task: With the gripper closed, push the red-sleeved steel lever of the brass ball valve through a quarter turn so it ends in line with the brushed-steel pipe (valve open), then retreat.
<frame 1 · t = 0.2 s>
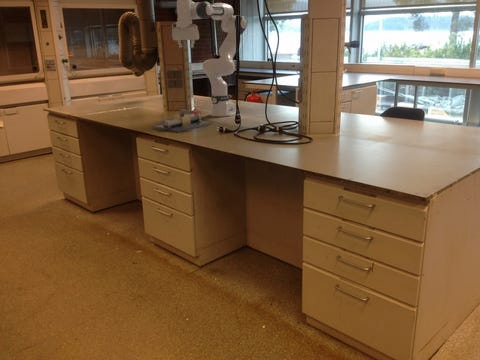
hand: (186, 47, 284), 47 cm above the countertop, fingers open, 8 cm apart
lever: (189, 113, 276), point 9 cm above the countertop, hinge at 90.0°
valve assembly: (182, 126, 283), on the countertop
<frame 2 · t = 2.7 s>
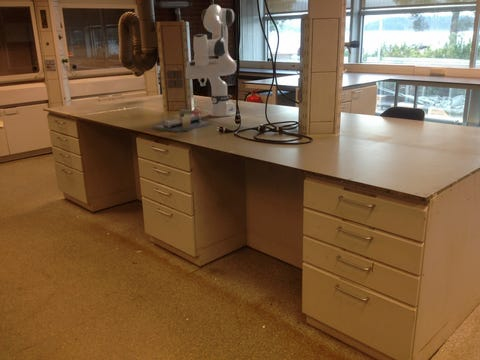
hand: (202, 85, 273), 25 cm above the countertop, fingers closed
nothing on the countertop moved.
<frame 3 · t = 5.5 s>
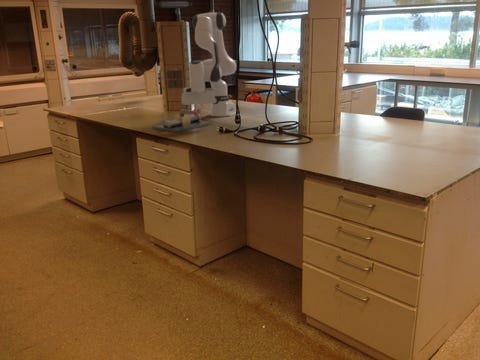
hand: (199, 111, 274), 10 cm above the countertop, fingers closed
lever: (189, 113, 276), point 9 cm above the countertop, hinge at 87.0°, touching gripper
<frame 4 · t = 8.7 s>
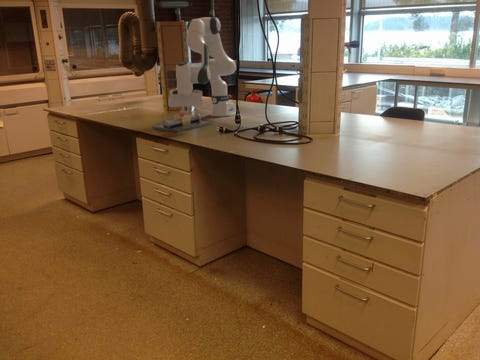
hand: (186, 113, 269), 10 cm above the countertop, fingers closed
lever: (181, 113, 274), point 9 cm above the countertop, hinge at 44.7°, touching gripper
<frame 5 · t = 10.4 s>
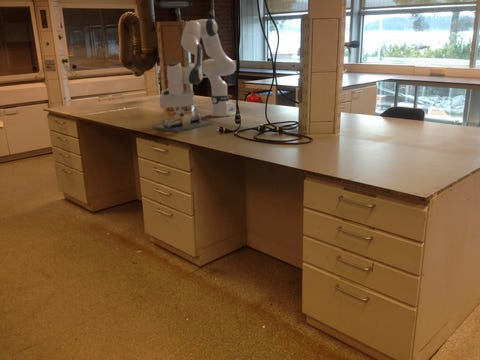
hand: (177, 114, 268), 10 cm above the countertop, fingers closed
lever: (177, 113, 274), point 9 cm above the countertop, hinge at 20.6°, touching gripper
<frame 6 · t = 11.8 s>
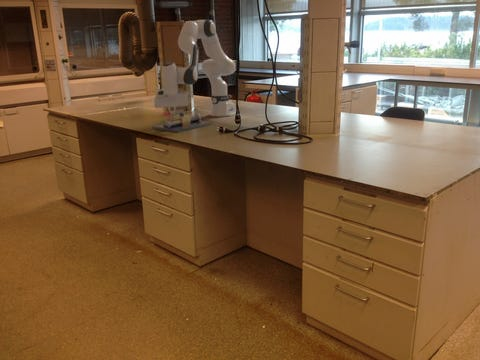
hand: (172, 114, 269), 10 cm above the countertop, fingers closed
lever: (174, 113, 275), point 9 cm above the countertop, hinge at 4.9°, touching gripper
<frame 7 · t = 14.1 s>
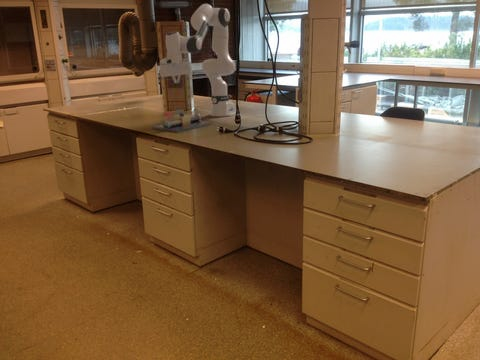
hand: (176, 82, 277), 27 cm above the countertop, fingers closed
lever: (174, 113, 275), point 9 cm above the countertop, hinge at 4.7°
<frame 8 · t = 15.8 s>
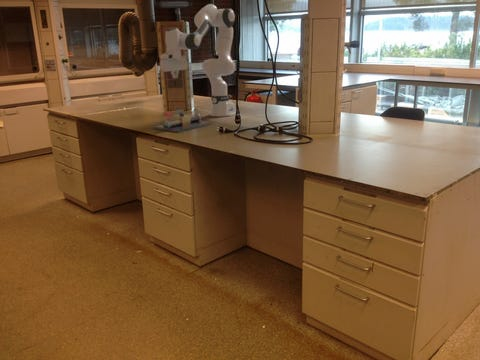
hand: (175, 78, 284), 29 cm above the countertop, fingers closed
nothing on the countertop moved.
at the end: lever at +5° (first picture: +90°) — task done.
